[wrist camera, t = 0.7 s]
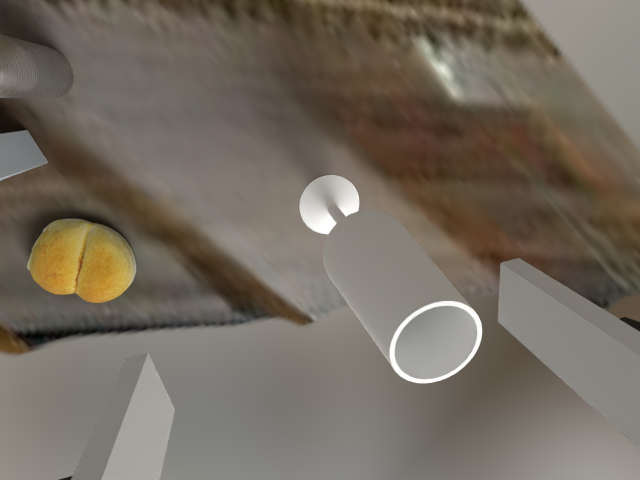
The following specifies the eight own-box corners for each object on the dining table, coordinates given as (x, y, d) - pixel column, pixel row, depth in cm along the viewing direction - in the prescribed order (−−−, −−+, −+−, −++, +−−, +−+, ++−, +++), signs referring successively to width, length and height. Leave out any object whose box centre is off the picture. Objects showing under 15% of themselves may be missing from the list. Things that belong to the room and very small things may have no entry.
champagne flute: (329, 245, 41) (426, 417, 19) (286, 208, 38) (339, 357, 16) (371, 202, 40) (524, 331, 18) (329, 161, 37) (448, 252, 15)
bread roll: (126, 302, 39) (114, 323, 35) (32, 276, 36) (8, 297, 32) (149, 236, 37) (139, 251, 33) (51, 203, 34) (28, 216, 30)
